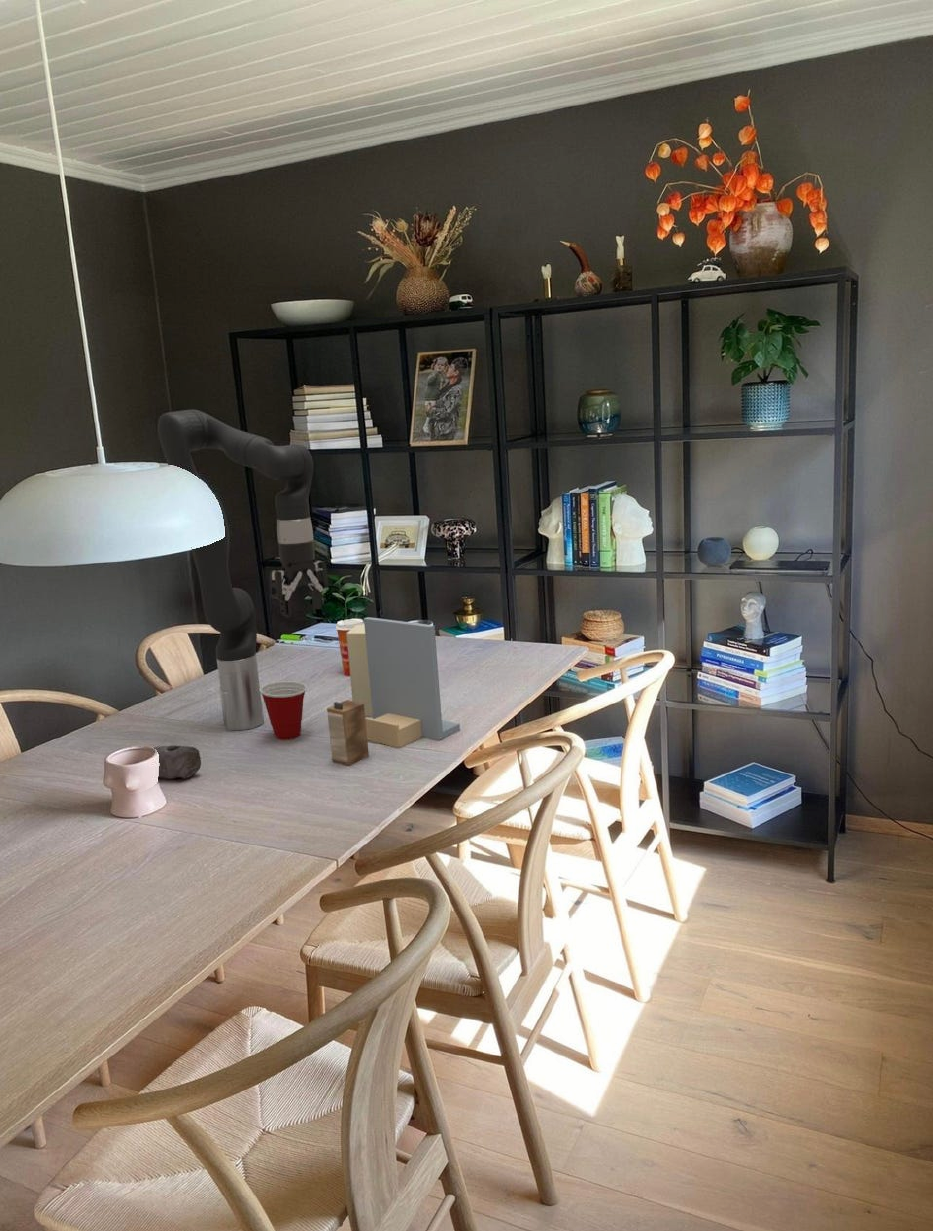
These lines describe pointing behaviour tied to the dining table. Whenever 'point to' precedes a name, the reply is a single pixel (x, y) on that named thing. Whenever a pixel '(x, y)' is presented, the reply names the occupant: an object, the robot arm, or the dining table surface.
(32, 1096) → the dining table surface
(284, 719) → the plastic cup
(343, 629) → the coffee cup
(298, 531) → the robot arm
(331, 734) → the walnut cabinet
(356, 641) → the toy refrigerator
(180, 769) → the perforated stone tool
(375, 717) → the wall board
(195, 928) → the dining table surface
